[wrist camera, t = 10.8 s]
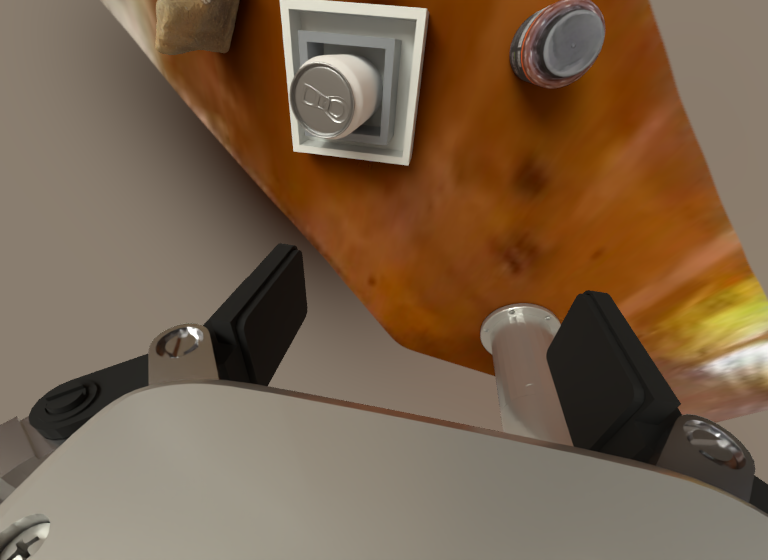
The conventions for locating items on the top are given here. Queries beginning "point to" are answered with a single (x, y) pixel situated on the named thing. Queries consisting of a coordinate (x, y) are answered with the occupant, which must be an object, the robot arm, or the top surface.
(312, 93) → the can
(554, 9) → the supplement bottle
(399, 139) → the inlet box
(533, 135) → the top surface
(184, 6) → the stone
